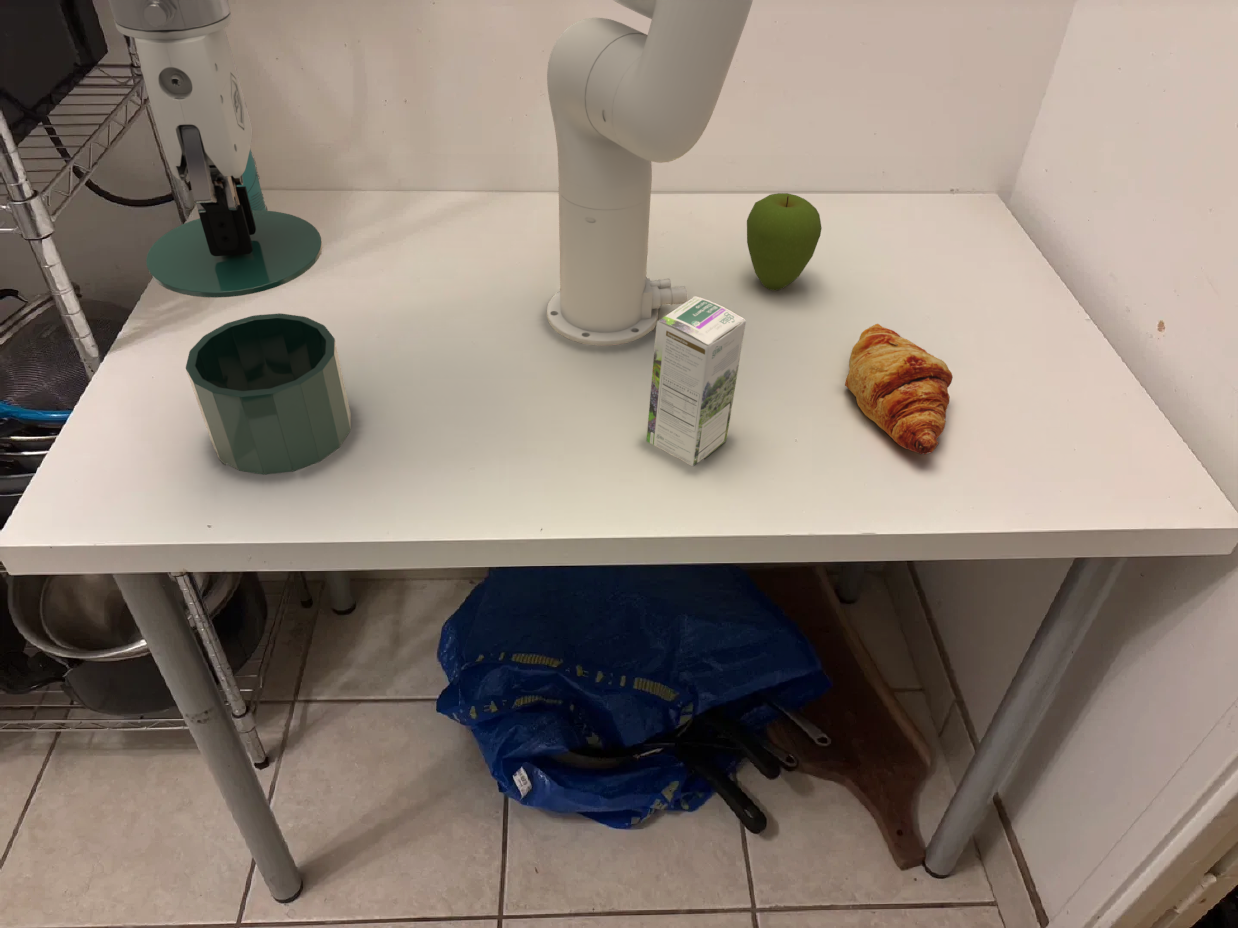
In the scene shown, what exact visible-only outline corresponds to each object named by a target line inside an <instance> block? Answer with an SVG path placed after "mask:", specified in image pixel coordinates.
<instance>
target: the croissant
mask: <svg viewBox="0 0 1238 928" xmlns="http://www.w3.org/2000/svg"><path fill="white" fill-rule="evenodd" d="M858 339H859V340H858V341H857V342H856V343H855V344H854V345H853V346H852V349H851V352H850V355H849V361H848V367H849V369H848V374H847V375H846V377H845V382H844V386H845V387H846V388H847V389H848V390H849V391H850V392H851V394H853V396H854V397H856V398H855V399H856V403H857V407H858V408H859V409H860V411H862V413H863V415H864V416H866V417H867V418H868V419H869V420H871V421H872V422H873V423H875V424H876V425H877V426H878V427H879V428H880V429H881V430H883V431H884V432H885V433H886V434H887V435H888V436H889V437H890V438H891V439H892V440H893V441H894V442H895V443H896V444H897V445H898V446H900V447H902V448H904V449H906V450H909V451H912V452H914V453H918V454H919V455H927V454H931V453H933V452H934V451H935V450H936V448H937V446H938V445H939V441H938V438H939V437H940V436H941V435H942V434H943V433H944V430H945V427H946V423H947V421H946V417H947V415H946V412H947V410H948V407H949V404H950V394H949V390H948V389H949V387H950V386H951V384H952V383H953V372H952V371H951V370H950V369H949V367H948V364H947V363H946V362H945V361H944V360H942V359H941V358H939V357H937V356H935V355H933V354H931V353H929V352H928V351H927V350H925V349H924V348H922V347H921V346H919V345H917V344H915V343H914V342H912V341H910V340H908V339H906V338H905V337H902V336H901V334H899V333H897V332H896V331H895V330H893V329H890V328H887V327H883V326H882V325H880V324H879V323H875V324H873V325H871V326H869V327H868V328H866V329H864V330H863V331H862V332H861V333H860V335H859V338H858Z"/></svg>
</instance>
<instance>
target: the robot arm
mask: <svg viewBox="0 0 1238 928" xmlns="http://www.w3.org/2000/svg"><path fill="white" fill-rule="evenodd" d="M613 1H614V2H616V3H617V4H619V5H621V6H622V7H624V8H627V9H629V10H630V11H633V12H635V13H637V14H639V15H642V16H644V17H645V18H648V19H650V20H651V21H650V25H649V29H648V33H647V34H646V33H644V32H642V31H640V30H638V29H636V28H634V27H631V26H629V25H627V24H625V23H622V22H619V21H617V20H614V19H611V18H603V17H589V18H584V19H580V20H578V21H576V22H574V23H572V24H571V25H569V26H568V27H567V28H565V30H564V31H562V33H561V34H559V36H558V38H557V39H556V40H555V43H554V45H553V46H552V48H551V51H550V55H549V59H548V62H547V63H548V64H547V72H546V81H547V83H546V84H547V92H548V100H549V106H550V110H551V117H552V122H553V126H554V133H555V139H556V151H557V172H558V239H559V244H558V245H559V290H558V291H557V292H556V293H555V294H554V295H553V296H551V298H550V300H549V301H548V302H547V306H546V319H547V321H548V323H549V325H550V327H551V328H552V329H553V330H554V331H555V332H556V333H557V334H559V335H560V336H562V337H564V338H566V339H568V340H570V341H573V342H576V343H579V344H583V345H589V346H597V347H598V346H599V347H605V346H619V345H625V344H628V343H632V342H634V341H637V340H639V339H641V338H643V337H645V336H647V335H648V334H649V333H650V332H653V331H654V329H656V325H657V321H658V320H659V319H658V318H659V317H658V316H659V315H658V314H659V313H658V311H659V309H660V307H661V306H666V305H671V306H673V305H674V306H675V305H682V304H684V303H685V302H687V301H688V290H687V287H686V286H685V285H684V286H675V287H672V281H671V279H670V277H669V278H659V279H652V280H651V279H650V277H647V270H648V254H649V253H648V252H649V235H650V233H649V232H650V213H651V199H652V198H651V195H652V183H653V182H652V181H653V175H652V174H653V167H652V166H653V165H652V163H660V164H664V163H669V162H673V161H676V160H678V159H680V158H682V157H683V156H684V155H686V154H687V153H689V152H690V150H691V149H692V148H693V147H694V146H695V145H696V144H697V143H698V141H699V140H700V139H701V138H702V136H703V134H704V132H705V130H706V129H707V127H708V124H709V122H710V120H711V119H712V115H713V114H714V111H715V108H716V105H717V103H718V100H719V97H720V95H721V92H722V89H723V86H724V84H725V81H726V78H727V76H728V72H729V70H730V67H731V64H732V62H733V59H734V56H735V55H736V51H737V48H738V45H739V43H740V40H741V37H742V34H743V31H744V30H745V26H746V23H747V21H748V17H749V14H750V11H751V7H752V5H753V1H754V0H613ZM107 2H108V6H109V8H110V11H111V15H112V18H113V21H114V24H115V29H116V30H117V32H118V33H120V34H122V35H123V36H126V37H130V38H133V39H134V43H135V48H136V53H137V56H138V60H139V64H140V72H141V73H142V77H143V81H144V86H145V88H146V93H147V96H148V97H147V98H148V100H149V104H150V105H149V106H150V108H151V112H152V115H153V120H154V123H155V126H156V129H157V130H156V131H157V133H158V137H159V141H160V143H161V146H162V150H163V153H164V156H165V159H166V161H167V164H168V167H169V169H170V172H171V174H172V176H173V177H175V179H177V180H179V181H181V182H184V181H186V179H187V177H188V180H189V183H190V187H191V193H192V198H193V201H194V203H195V205H196V208H197V212H198V216H199V218H200V220H201V223H202V226H203V230H204V233H205V237H206V240H207V244H208V247H209V251H210V253H211V255H213V256H229V255H244V254H250V253H251V252H252V249H253V246H252V242H251V238H250V235H253V234H255V232H256V226H255V222H254V218H253V214H252V210H251V206H250V201H249V197H248V193H247V189H246V186H244V187H237V185H243V177H242V174H243V173H244V171H245V169H246V165H247V161H248V156H249V151H250V149H251V146H252V142H253V141H252V140H253V125H252V119H251V117H250V114H249V109H248V106H247V102H246V98H245V95H244V92H243V88H242V84H241V81H240V77H239V73H238V70H237V67H236V63H235V59H234V56H233V55H234V54H233V52H232V49H231V45H230V42H229V38H228V36H227V32H226V29H225V28H226V27H228V26H229V25H231V24H232V23H233V22H232V21H233V16H232V12H231V7H230V3H229V0H107ZM212 181H222V185H223V189H222V187H221V186H220V185H213V184H212ZM232 181H234V183H235V186H236V190H237V194H238V198H239V202H240V205H237V200H236V196H235V192H234V187H233V183H232Z"/></svg>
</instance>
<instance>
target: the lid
mask: <svg viewBox="0 0 1238 928" xmlns="http://www.w3.org/2000/svg"><path fill="white" fill-rule="evenodd" d="M232 183H233V187H234V192H235V196H236V200H237V205H240V202H239V198H238V194H237V190H236V186H235V183H234V181H232ZM212 184H213V185H220V186H221V187H222V189H223V185H222V181H212ZM252 214H253V218H254V222H255V226H256V232H255V234H253V235H250V238H251V242H252V246H253V249H252V252H251V253H250V254H244V255H229V256H213V255H211V253H210V251H209V247H208V244H207V240H206V237H205V233H204V230H203V226H202V223H201V220H200V217H199V218H196V219H193V220H189V221H188V222H185V223H183V224H181V225H178V226H176V227H174V228H172V229H171V230H169V231H168V232H166V233H164V234H163V235H162V236H161V237H159V238H158V239H157V240H156V241H155V242H154V243H153V244H152V245H151V247H150V248H149V250H148V252H147V254H146V259H145V263H146V264H145V265H146V268H147V271H148V273H149V275H150V277H151V279H153V280H154V282H155V283H157V284H158V285H159V286H161V287H163V288H165V289H167V290H169V291H171V292H173V293H177V294H180V295H186V296H189V297H190V296H191V297H196V298H197V297H199V298H215V299H217V298H232V297H233V298H234V297H241V296H247V295H253V294H257V293H261V292H262V293H263V292H265V291H269V290H272V289H275V288H277V287H280V286H283V285H285V284H287V283H290V282H291V281H293V280H295V279H297V278H299V277H301V276H302V275H304V274H305V273H307V272H308V271H309V270H310V269H312V268H313V266H314V265H315V264H316V263H317V262H318V260H319V259H320V256H321V255H322V252H323V240H322V236H321V233H320V232H319V231H318V229H317V228H316V227H315V226H314V225H313V224H312V223H310V222H309V221H307V220H305V219H303V218H301V217H299V216H296V215H293V214H290V213H286V212H280V211H276V210H275V211H274V210H268V211H267V210H266V211H265V210H252Z"/></svg>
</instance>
